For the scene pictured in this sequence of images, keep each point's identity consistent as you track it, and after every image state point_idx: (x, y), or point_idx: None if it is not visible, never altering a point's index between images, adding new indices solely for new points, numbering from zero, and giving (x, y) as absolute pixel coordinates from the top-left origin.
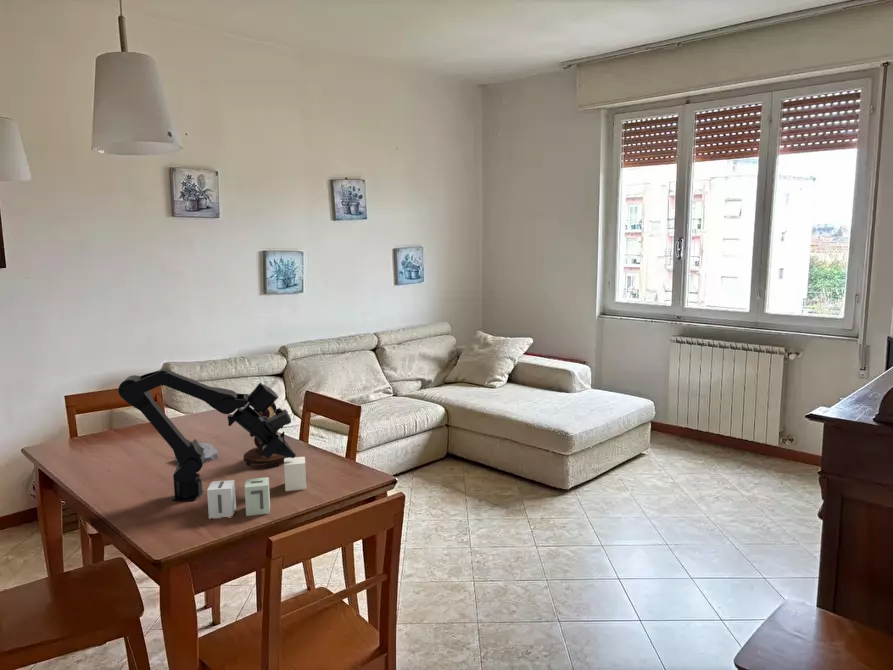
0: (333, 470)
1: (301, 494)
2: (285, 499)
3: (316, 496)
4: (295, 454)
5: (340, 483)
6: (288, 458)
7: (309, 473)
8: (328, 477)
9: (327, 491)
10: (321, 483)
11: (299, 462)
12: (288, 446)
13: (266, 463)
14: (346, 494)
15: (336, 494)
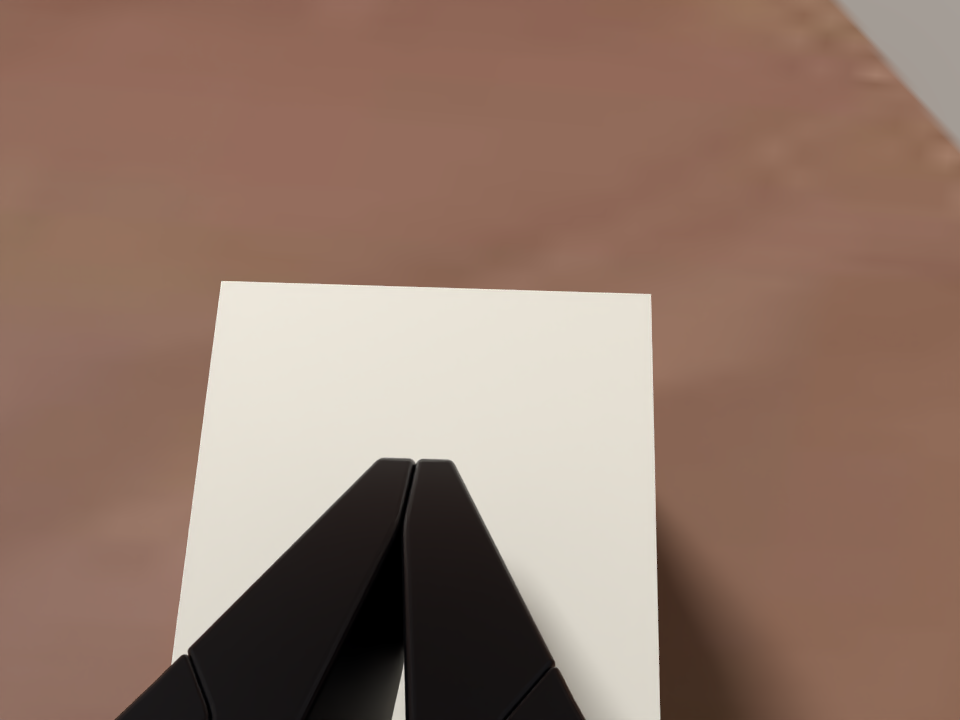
0: (78, 71)
1: (743, 478)
2: (874, 691)
3: (839, 312)
4: (393, 461)
5: (509, 42)
6: None
7: (57, 338)
8: (282, 141)
9: (712, 187)
10: (448, 228)
11: (571, 407)
12: (326, 681)
13: None
14: (837, 18)
15: (819, 108)
